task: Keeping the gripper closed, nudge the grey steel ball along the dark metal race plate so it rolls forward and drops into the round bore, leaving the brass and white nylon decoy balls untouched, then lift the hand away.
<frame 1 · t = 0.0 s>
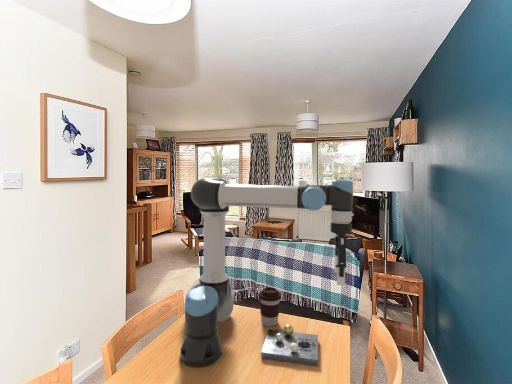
hand: (339, 278, 110), 28 cm above the table, fingers open, 13 cm apart
coffee cup: (269, 323, 132), on the table
nylon decoy: (294, 347, 107), point 4 cm above the table, touching race plate
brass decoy: (288, 330, 118), point 4 cm above the table, touching race plate
blue grey rounded piece: (210, 318, 136), on the table
steel ball: (279, 337, 113), point 4 cm above the table, touching race plate
race plate: (290, 349, 112), on the table
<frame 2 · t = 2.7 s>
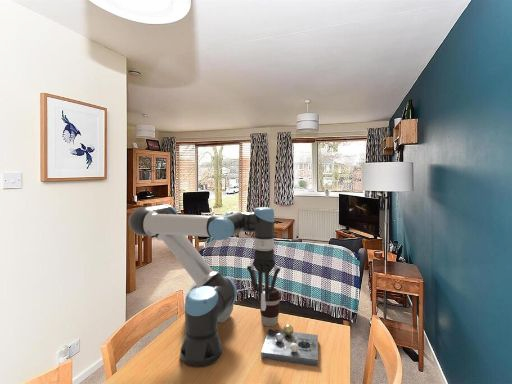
hand: (263, 308, 113), 15 cm above the table, fingers closed
nothing on the table moved.
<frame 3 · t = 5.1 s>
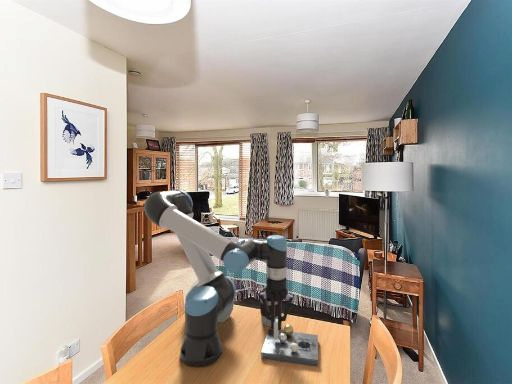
hand: (276, 337, 113), 4 cm above the table, fingers closed
steel ball: (282, 338, 112), point 4 cm above the table, tilted 47°, touching race plate
everything else where it was.
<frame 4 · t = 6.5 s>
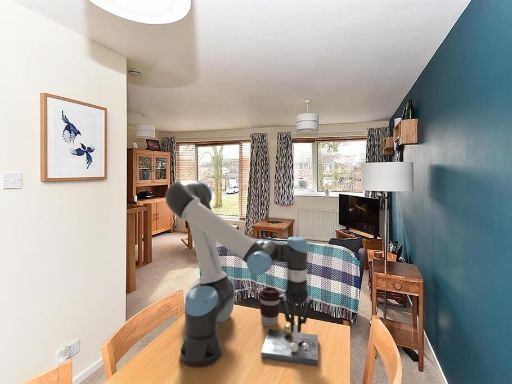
hand: (295, 339, 111), 4 cm above the table, fingers closed
steel ball: (305, 347, 111), point 2 cm above the table, tilted 33°
everything else where it was.
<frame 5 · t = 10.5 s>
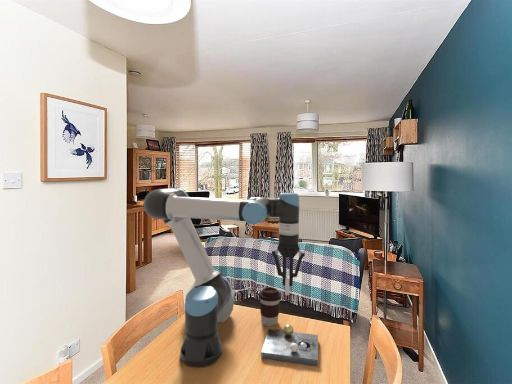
hand: (287, 293, 114), 20 cm above the table, fingers closed
steel ball: (303, 347, 111), point 2 cm above the table
everything else where it was.
at the end: steel ball 0.4 cm from the target spot in the race plate, point 1.6 cm above the race plate's base; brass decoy moved 0.0 cm from its start; nylon decoy moved 0.0 cm from its start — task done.
